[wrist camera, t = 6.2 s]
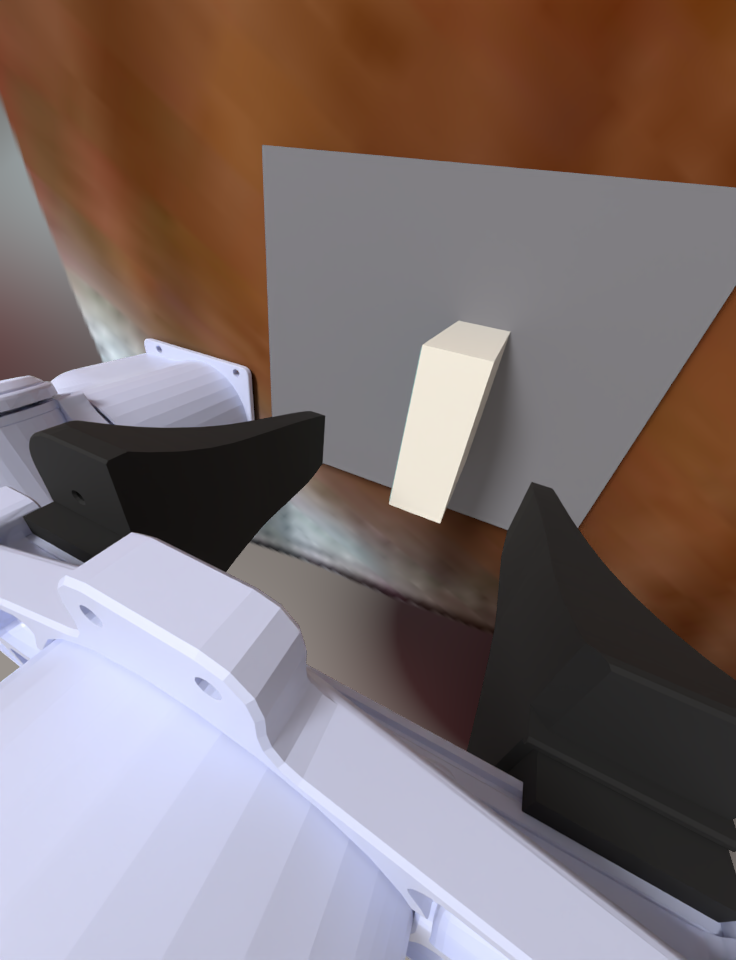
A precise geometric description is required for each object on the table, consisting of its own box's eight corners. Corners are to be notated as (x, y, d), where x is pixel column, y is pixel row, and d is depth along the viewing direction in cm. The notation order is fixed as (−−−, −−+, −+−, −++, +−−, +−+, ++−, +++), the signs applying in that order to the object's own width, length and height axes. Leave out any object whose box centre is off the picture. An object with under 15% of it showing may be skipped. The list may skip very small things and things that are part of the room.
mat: (279, 440, 26) (273, 444, 25) (272, 149, 17) (261, 144, 16) (562, 541, 21) (563, 550, 20) (782, 196, 11) (795, 192, 11)
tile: (424, 448, 20) (388, 504, 16) (457, 320, 16) (421, 344, 12) (465, 461, 20) (440, 523, 15) (510, 331, 16) (494, 362, 11)
